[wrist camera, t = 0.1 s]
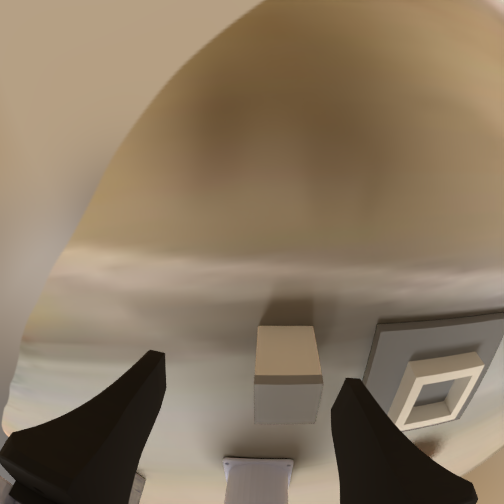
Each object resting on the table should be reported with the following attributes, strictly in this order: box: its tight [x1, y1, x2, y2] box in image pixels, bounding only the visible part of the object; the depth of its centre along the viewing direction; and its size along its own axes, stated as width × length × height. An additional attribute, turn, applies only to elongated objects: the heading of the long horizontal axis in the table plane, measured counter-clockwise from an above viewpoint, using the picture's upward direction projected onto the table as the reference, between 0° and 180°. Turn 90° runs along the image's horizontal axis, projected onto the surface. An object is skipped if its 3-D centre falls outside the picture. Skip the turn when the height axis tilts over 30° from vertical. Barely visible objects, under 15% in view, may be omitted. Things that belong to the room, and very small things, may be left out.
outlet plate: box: [362, 312, 504, 432], centre depth 22 cm, size 14×14×3 cm
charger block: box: [254, 326, 323, 424], centre depth 20 cm, size 4×4×6 cm
